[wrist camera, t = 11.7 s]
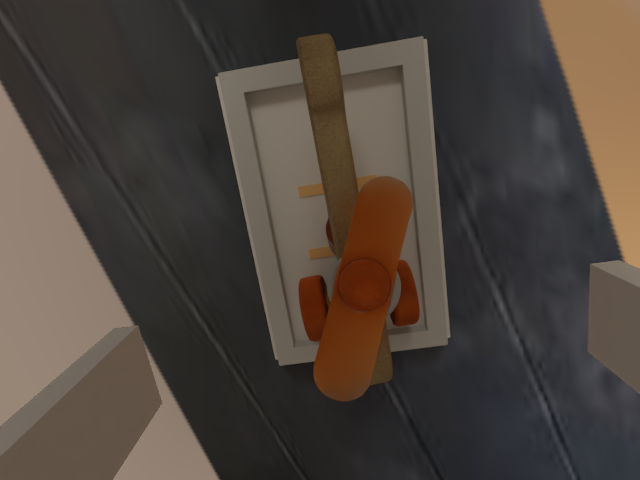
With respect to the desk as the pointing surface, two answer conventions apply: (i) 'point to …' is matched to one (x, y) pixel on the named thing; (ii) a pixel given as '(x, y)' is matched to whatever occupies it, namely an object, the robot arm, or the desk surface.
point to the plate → (307, 190)
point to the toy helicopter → (352, 245)
